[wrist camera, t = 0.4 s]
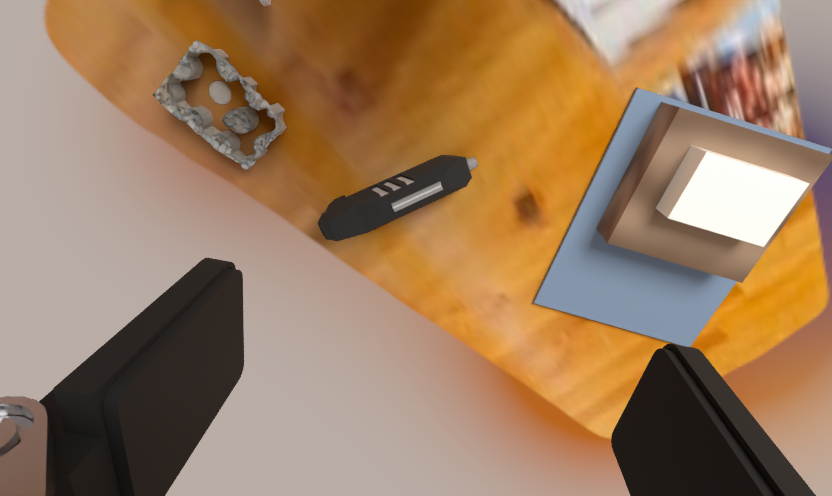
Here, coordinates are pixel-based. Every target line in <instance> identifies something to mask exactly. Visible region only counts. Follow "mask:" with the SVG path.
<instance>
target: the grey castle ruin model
mask: <svg viewBox="0 0 832 496" xmlns="http://www.w3.org/2000/svg"><path fill="white" fill-rule="evenodd" d="M201 53H211V54H212V55H213V57H214V58H215V59H216V61H217V64H216V66H217V69H216V70H217V71H218V72H219V74H220V75H221V76H222V77H223V78H224V79H225V82H232V81H236V80H240V83H241V84H246V86H244V85H243V88H244V90H245V91H246V94H245V99H246V100H248V102H249V106H251V107H252V108H250V107H240V108H236V109H233V110H230V111H228V112H227V114H226V115H225V116H224V117H223V119H222V121H223V123H224V124H225V125H226V126H227V127H229V128H230V129H232V130H233V131H234V132H236V133H239V134H244V133H247V132H249V131H251V130H254V129H255V128H257V126H258V124H259V116H258V114H257V112H256V111H255V110H258V111H259V110H262V109H267V113H268V116H269V117H270V118H274V119H275V125H276V128H275V129H274V130H273V131H272V132H267V133H265V134H263V135H261V136H259V137H257V138H255V140H254V141H253V142H254V144H255V146H254V150H255V152H256V154H251V155H248V156H246V155H244V154H243V153H242V152H241V151H240V150H239V148H240V139H239V137H238V136H237V135H236V134H235V133H234V132H232V131H228V130H227V131H222V132H220V131H219V130H218V129H216V128H214V127H213V126H212V125H213V122H214V119H213V116H212V113H211V112H210V111H209V110H208V109H207V108H205V107H203V106H196V107H191V106H190V105H189V104H188V103H187V102H186V101H185V97H186V94H185V90H184V88H183V86H182V85H181V81H182V80H193V79H198V78H200V77H201V75H202V73H203V65H202V62H201V60H200V59H199V58H198V57H199V54H201ZM228 59H229V56H228V55H227V54H226V53H225V52H224V51H223V50H222V49H212V48H211V47H209V46H207V45H206V44H203V43H201V42H199V41H198V40H196V41H194V43H193V44H192V45H191V46H190V48H189V49H188V51H187V53H186V54H185V55H184V57H183V58H182V59H181V60H180V61H179V65H178V66H177V68H176V69H175V71H174V72H173V73H171V74H170V75H169V76H168V77H167V78H166V79H165V80H164V82H163V83H162V85H161V86H160V87H159V89H158V90H157V91H156V92H155V93H154V94H153V96H154V97H155V99H157V100H158V101H159V102H160V104H161V105H162V106H163V107H164V108H166V109H167V110H168V111H169V112H170V113H171V114H172V115H174V116H175V117H176V118H178V119H179V120H181V121H184V122H186V123H187V124H188V125H189V126H190V127H191V128H192V129H193V131H194V132H195V133H197V134H199V135H201V136H202V137H203V138H204V139H205V140H206V141H207V142H209V143H210V144H211V145H212V146H213V148H214V149H216V150H218V151H219V152H221V153H222V154H224V155H225V156H227V157H229V158H231V159H232V160H233V161H235V162H237V163H240V165H241V167H242V168H244V169H245V170H247V171H248V169H249V168H250V167H251V166H253V165H254V164H255V163H256V161H257V160H258V159H259V158H261V157H263V156H264V155H265V154H266V153H267V151H268V150H267V149H266V148H267V147H268V145H269V144H270V142H271V141H273V140H274V139H275V138H276V137H277V136H279V135H281V134H283V133H284V131H285V130H286V129H287V126H286V125H285V123H284V120H283V114H284V112H285V109H284V108H283V107H282V106H281V105H280V104H278V103H276V104H273V105H269V104H268V102H267V101H266V100H264V99H262V96H261V95H260V94H259V93H257V92H256V88H257V85H258V84H257V82H256V81H254V80H253V79H252V78H251V77H250V76H249V77H244V78H243V77H242V76H241V75H240V74H239V73H238V72H237V71H236V69H235V68H234V67H233V66H232V65H231V64H230V63H229V62H228ZM209 94H210V97H211V98H212V100H213V101H214V102H216V103H218V104H220V105H225V104H228V103H229V102H230V100H231V91H230V89H229V87H228V86H227V84H225V83H224V82H222V81H214V82H212V83H211V84H210V86H209ZM254 109H255V110H254Z"/></svg>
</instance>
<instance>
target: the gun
mask: <svg viewBox="0 0 832 496" xmlns="http://www.w3.org/2000/svg"><path fill="white" fill-rule="evenodd" d="M477 166H478V163H477V160H476V159H475V158H474V157H472V158H468V159H466V158H465V157H459V156H450V155H441V156H438V157H436V158H433V159H431V160H429V161H427V162H424V163H422V164H420V165H418V166H415V167H413V168H411V169H409V170H406V171H404V172H402V173H400V174H397V175H395V176H393V177H391V178H388V179H386V180H384V181H382V182H379V183H377V184H375V185H373V186H370V187H368V188H366V189H363V190H361V191H359V192H357V193H354V194H352V195H350V196H348V197H345V195H344V196H341V197H339V198H337V199H334V200H333V201H332V202H331V203H330V204H329V206H328V208H327V210H326V212H325V213H323V214H322V216H321V218H320V220H319V221H318V225H319V227H320V229H321V232H322V234H323V235H324V237H325V238H326V239H329V240H334V241H339V240H343V239H347V238H350V237H354V236H357V235H361V234H364V233H368V232H370V231H372V230H374V229H376V228H378V227H380V226H383V225H385V224H387V223H389V222H391V221H393V220H395V219H397V218H400V217H402V216H404V215H406V214H408V213H410V212H412V211H414V210H417V209H419V208H421V207H423V206H425V205H427V204H429V203H432V202H434V201H436V200H438V199H440V198H442V197H444V196H446V195H449V194H451V193H453V192H455V191H457V190H459V189H461V188H463V187H466V186H467V184H468V183H469V181H470V179H471V178H472V177H471V173H470V171H471V170H472V169H474V168H476V167H477Z"/></svg>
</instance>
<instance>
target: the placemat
mask: <svg viewBox="0 0 832 496" xmlns="http://www.w3.org/2000/svg"><path fill="white" fill-rule="evenodd" d="M661 102H663V103H667V104H670V105H674V106H677V107H680V108H684V109H687V110H690V111H693V112H696V113H700V114H703V115H706V116H709V117H712V118H715V119H719V120H722V121H725V122H728V123H731V124H735V125H738V126H741V127H744V128H747V129H751V130H754V131H757V132H760V133H763V134H767V135H770V136H773V137H776V138H779V139H783V140H786V141H789V142H792V143H795V144H798V145H802V146H805V147H808V148H811V149H814V150H818V151H821V152H824V153H827V154H829V153H830V152H831V150H832V149H830V148H827V147H824V146H821V145H818V144H814V143H811V142H808V141H805V140H802V139H799V138H795V137H792V136H789V135H786V134H783V133H779V132H776V131H773V130H770V129H767V128H764V127H760V126H757V125H754V124H751V123H748V122H744V121H741V120H738V119H735V118H732V117H729V116H725V115H722V114H719V113H716V112H713V111H709V110H706V109H703V108H700V107H697V106H693V105H690V104H687V103H684V102H681V101H678V100H674V99H671V98H668V97H665V96H662V95H658V94H655V93H652V92H649V91H646V90H643V89H639V88H636V89H635V91H634V94H633V96H632V98H631V100H630V102H629V104H628V106H627V108H626V110H625V112H624V114H623V116H622V118H621V121H620V123H619V125H618V127H617V129H616V131H615V133H614V135H613V137H612V139H611V141H610V143H609V145H608V147H607V150H606V152H605V154H604V156H603V158H602V160H601V162H600V164H599V166H598V168H597V170H596V172H595V174H594V177H593V179H592V181H591V183H590V185H589V187H588V189H587V191H586V193H585V195H584V197H583V199H582V201H581V203H580V206H579V208H578V210H577V212H576V214H575V216H574V218H573V220H572V222H571V224H570V226H569V228H568V230H567V233H566V235H565V237H564V239H563V241H562V243H561V245H560V247H559V249H558V251H557V253H556V255H555V257H554V259H553V262H552V264H551V266H550V268H549V270H548V272H547V274H546V276H545V278H544V280H543V282H542V284H541V286H540V289H539V291H538V293H537V295H536V297H535V299H534V301H533V302H534V303H535V304H539V305H542V306H546V307H549V308H553V309H556V310H560V311H563V312H567V313H570V314H574V315H577V316H581V317H584V318H587V319H591V320H594V321H598V322H601V323H605V324H608V325H612V326H615V327H619V328H622V329H626V330H629V331H633V332H636V333H640V334H643V335H647V336H650V337H654V338H657V339H661V340H664V341H668V342H671V343H675V344H678V345H682V346H686V347H690V346H691V344H692V343H693V342H694V340H695V339H696V337H697V336H698V335H699V333H700V332H701V330H702V329H703V328H704V326H705V325H706V324H707V322H708V321H709V319H710V318H711V317H712V315H713V314H714V312H715V311H716V310H717V308H718V307H719V305H720V304H721V303H722V301H723V300H724V299H725V297H726V296H727V294H728V293H729V292H730V290H731V289H732V287H733V286H734V285H735V283H736V282H737V281H734V280H731V279H728V278H724V277H721V276H717V275H714V274H711V273H707V272H704V271H700V270H697V269H694V268H690V267H687V266H683V265H680V264H677V263H673V262H670V261H667V260H663V259H660V258H656V257H653V256H650V255H646V254H643V253H639V252H636V251H633V250H629V249H626V248H623V247H619V246H616V245H612V244H609V243H607V242H606V241H605V239H604V238H603V237H602V235H601V234H600V233H599V231H598V230H597V229H596V228H597V226H598V224H599V222H600V220H601V218H602V216H603V214H604V212H605V210H606V208H607V206H608V204H609V202H610V201H611V199H612V197H613V195H614V193H615V191H616V189H617V187H618V185H619V183H620V181H621V179H622V177H623V175H624V173H625V171H626V169H627V167H628V166H629V164H630V162H631V160H632V158H633V156H634V154H635V152H636V150H637V148H638V146H639V144H640V142H641V140H642V138H643V136H644V134H645V132H646V131H647V129H648V127H649V125H650V123H651V121H652V119H653V117H654V115H655V113H656V111H657V109H658V107H659V105H660V103H661Z"/></svg>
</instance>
